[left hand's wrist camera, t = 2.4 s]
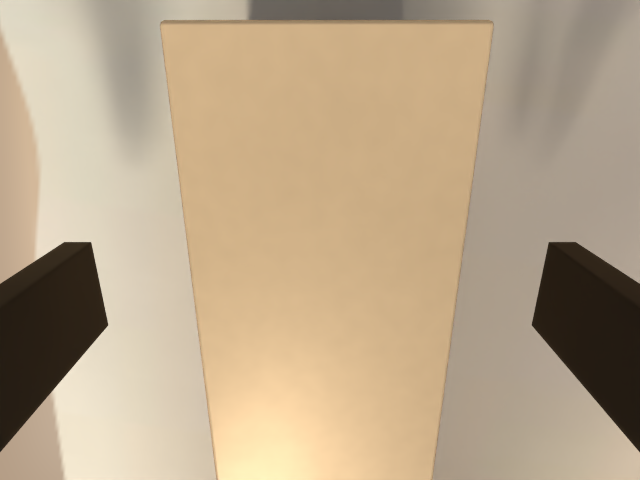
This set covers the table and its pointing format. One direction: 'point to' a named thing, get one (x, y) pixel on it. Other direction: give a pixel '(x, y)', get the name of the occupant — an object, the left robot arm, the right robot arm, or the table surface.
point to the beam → (325, 233)
